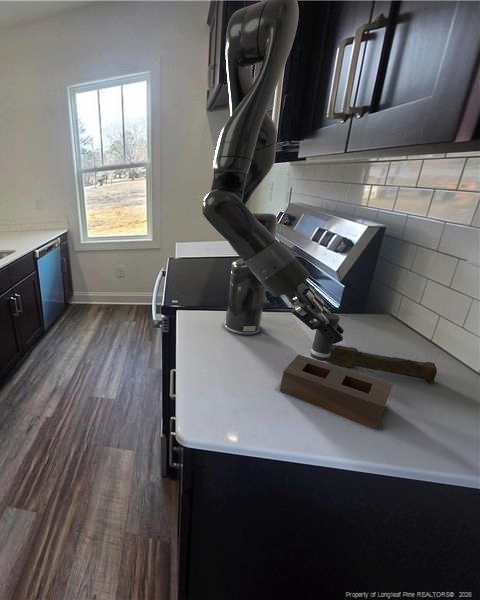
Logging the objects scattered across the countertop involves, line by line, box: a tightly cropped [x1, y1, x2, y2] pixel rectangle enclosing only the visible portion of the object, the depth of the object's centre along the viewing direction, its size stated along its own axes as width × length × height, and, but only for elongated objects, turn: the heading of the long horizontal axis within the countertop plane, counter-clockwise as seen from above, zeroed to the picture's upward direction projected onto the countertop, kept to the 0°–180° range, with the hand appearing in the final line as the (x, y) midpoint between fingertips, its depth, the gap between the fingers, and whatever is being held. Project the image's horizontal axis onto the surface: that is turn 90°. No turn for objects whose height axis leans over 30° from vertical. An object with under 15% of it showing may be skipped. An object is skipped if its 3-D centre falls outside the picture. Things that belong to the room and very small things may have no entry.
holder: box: [279, 354, 394, 430], centre depth 63 cm, size 9×16×5 cm, turn 41°
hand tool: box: [326, 344, 438, 384], centre depth 71 cm, size 19×4×5 cm, turn 58°
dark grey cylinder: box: [310, 313, 340, 362], centre depth 62 cm, size 3×3×9 cm
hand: (338, 337), depth 60 cm, fingers closed on dark grey cylinder, 3 cm apart
